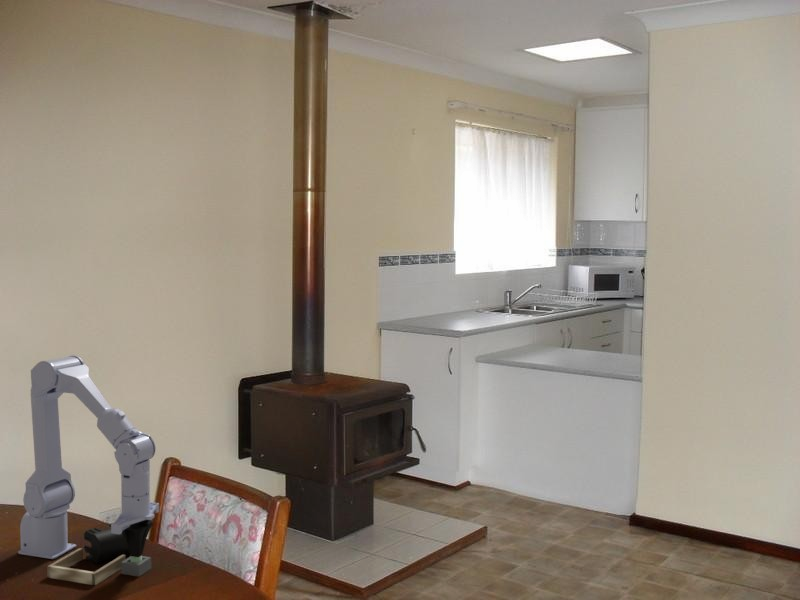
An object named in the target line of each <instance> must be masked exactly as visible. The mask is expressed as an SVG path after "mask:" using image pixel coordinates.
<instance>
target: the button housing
mask: <svg viewBox="0 0 800 600" xmlns="http://www.w3.org/2000/svg"><path fill="white" fill-rule="evenodd" d="M151 569H152V557H151V556H146V555H145V556H144V555H142V561H141V562H139V563H134V562H130V556H129V557H127V558H126V559H125V560H124V561H122V562H121V569H120V574H121V575H127V576H133V577H138V578H139V577H141V576H143V575H144V574H146V573H147V572H148V571H150V570H151Z"/></svg>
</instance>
